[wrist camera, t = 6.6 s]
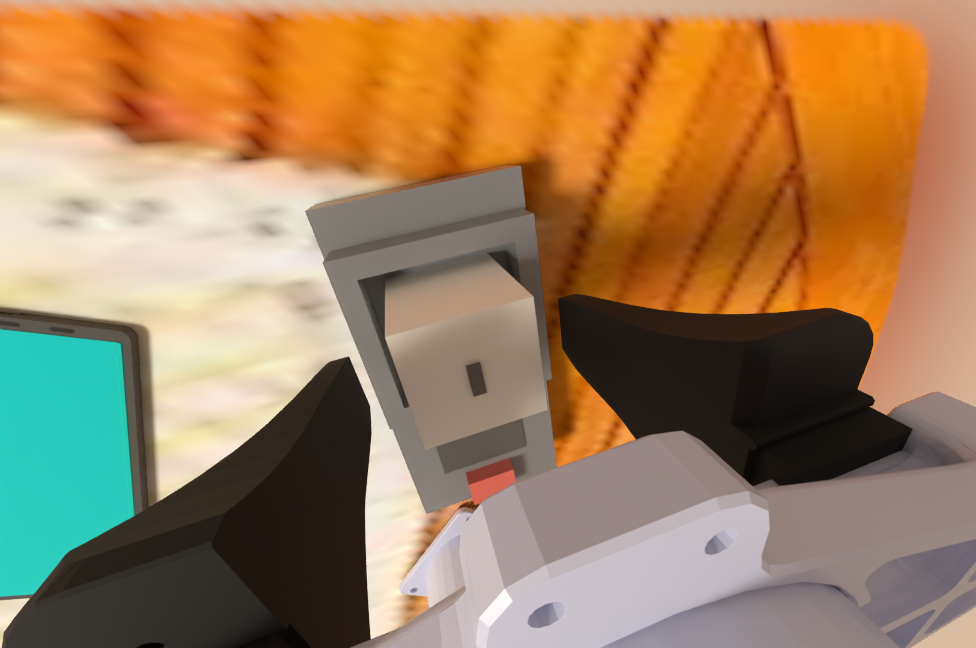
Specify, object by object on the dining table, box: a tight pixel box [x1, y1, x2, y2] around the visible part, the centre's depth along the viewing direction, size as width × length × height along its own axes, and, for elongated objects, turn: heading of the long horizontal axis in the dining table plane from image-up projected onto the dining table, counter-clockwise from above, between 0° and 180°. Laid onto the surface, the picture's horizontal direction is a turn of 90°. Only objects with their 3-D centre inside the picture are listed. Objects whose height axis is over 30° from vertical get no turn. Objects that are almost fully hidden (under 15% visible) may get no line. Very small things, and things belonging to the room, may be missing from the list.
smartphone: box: [0, 312, 148, 600], centre depth 15 cm, size 7×1×15 cm
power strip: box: [305, 165, 557, 514], centre depth 17 cm, size 20×8×4 cm, turn 11°
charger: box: [385, 253, 548, 450], centre depth 12 cm, size 4×4×5 cm
